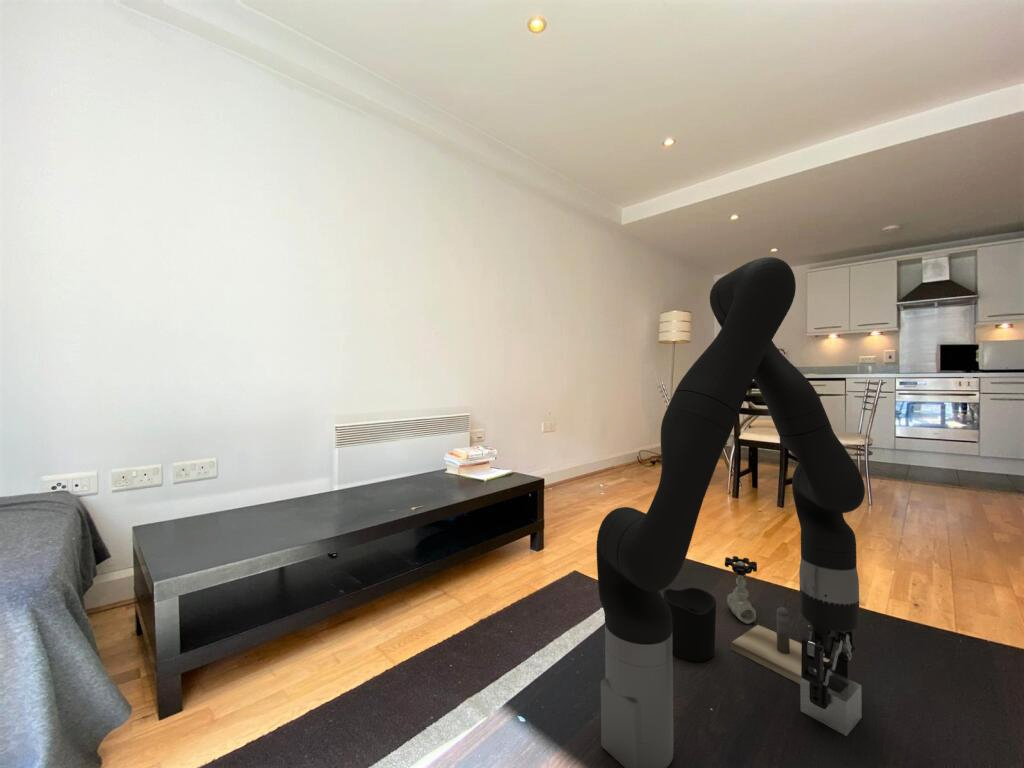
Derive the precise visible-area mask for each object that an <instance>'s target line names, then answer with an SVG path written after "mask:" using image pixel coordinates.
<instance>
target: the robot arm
mask: <svg viewBox="0 0 1024 768" xmlns="http://www.w3.org/2000/svg"><path fill="white" fill-rule="evenodd" d="M796 283H797V282H796V277H795V274H794V272H793V268H791V266H790V265H789V264H788V263H787V262H786V261H785V260H783V259H780V258H778V257H773V256H767V257H760V258H757V259H754V260H751V261H749V262H747V263H745V264H742V265H741V266H739V267H737V268H735V269H734V270H732V271H730V272H728V273H726V274H724V275H723V276H722V277H720V278H718V279H717V280H716V282H714V284H713V286H711V289H710V292H709V293H710V294H709V304H710V308H711V311H712V314H713V316H714V317H715V319H716V321H717V323H718V325H719V326H720V328H721V329H720V330H719V332H718V333H717V334H716V337H715V338H714V340H713V341H711V343H710V345H708V347H707V348H706V349H705V350H704V351H703V353H702V354H701V355H700V356H699V357H698V358H697V359H696V360H695V362H694V363H693V364H692V365H691V366H690V368H689V369H688V370H687V371H686V373H685V374H684V376H683V377H682V378H681V380H680V382H679V383H678V385H677V387H676V388H675V390H674V392H673V394H672V397H671V399H670V402H669V403H668V406H667V408H666V410H665V413H664V415H663V418H662V421H661V425H660V454H661V456H660V457H661V471H660V478H659V479H660V480H659V484H658V487H657V489H656V490H655V491H656V492H655V493H654V494H655V495H654V496H653V498H652V501H651V503H650V505H649V508H648V510H647V511H646V512H643V511H641V510H639V509H636V508H634V507H628V506H621V507H616V508H614V509H613V510H611V511H610V512H609V513H608V514H607V515H605V517H604V518H603V520H602V522H601V523H600V526H599V528H598V533H597V537H596V567H597V569H596V570H597V572H596V573H597V586H598V596H599V600H600V604H601V607H602V608H603V612H604V613H603V614H604V643H605V644H604V651H605V653H604V656H605V657H604V660H605V661H604V662H605V663H604V664H605V667H604V668H605V672H604V673H605V677H604V678H603V679H601V681H600V725H601V726H600V730H601V731H600V737H601V738H600V739H601V740H600V741H601V747H602V748H603V749H604V750H605V751H606V752H607V753H608V754H609V755H610V756H612V757H613V758H614V759H615V760H616V761H617V762H618V763H619V764H621V765H622V766H623V768H668V767H669V766H670V764H671V763H672V761H673V758H674V679H673V678H674V672H673V671H674V669H673V663H674V662H673V661H674V660H673V653H672V652H673V644H672V614H671V610H670V608H669V606H668V604H667V603H666V601H665V600H664V597H663V595H662V594H661V591H663V590H666V589H667V588H668V587H669V586H670V585H671V584H672V583H673V582H674V581H675V580H676V578H677V577H678V575H679V573H680V572H681V569H682V568H683V565H684V563H685V561H686V558H687V554H688V552H689V549H690V546H691V545H690V544H691V543H692V542H691V541H692V538H693V535H694V531H695V528H696V525H697V522H698V518H699V515H700V511H701V509H702V505H703V502H704V499H705V496H706V493H707V491H708V489H709V487H710V483H711V481H712V479H713V475H714V473H715V471H716V468H717V465H718V463H719V461H720V457H721V455H722V453H723V452H724V449H725V446H726V445H727V442H728V440H729V438H730V436H731V433H732V432H733V429H734V427H735V424H736V423H737V419H738V417H739V415H740V413H741V409H742V407H743V405H744V401H745V398H746V396H747V395H748V392H749V390H750V387H751V386H752V383H753V381H754V383H755V385H756V386H757V388H758V390H759V393H760V395H761V396H762V398H763V400H764V402H765V405H766V407H767V410H768V413H769V414H770V417H771V419H772V422H773V424H774V427H775V430H776V431H777V434H778V436H779V438H780V440H781V442H782V444H783V446H784V448H785V449H787V450H788V451H789V452H790V453H792V454H793V456H794V457H795V459H797V462H798V464H797V466H796V467H795V469H794V470H793V475H792V478H791V479H792V480H791V482H792V483H791V488H792V495H793V501H794V505H795V511H796V516H797V519H798V522H799V526H800V561H799V562H800V563H799V575H798V576H799V581H798V582H799V612H800V614H801V615H802V617H803V618H804V619H805V620H806V621H808V623H809V624H810V625H811V626H812V628H811V629H810V632H809V635H808V638H806V637H802V638H801V642H800V643H801V644H802V654H801V677H802V678H803V679H805V680H807V681H809V690H810V701H811V702H812V703H813V704H815V705H817V706H818V707H820V708H822V709H826V708H827V707H828V680H829V676H830V672H831V671H832V672H834V673H836V674H838V675H840V676H843V677H845V678H847V679H849V680H850V661H851V659H852V658H853V655H852V653H855V651H856V649H857V647H856V632H855V631H856V630H857V629H859V627H860V621H861V620H860V617H861V615H860V580H859V573H858V569H857V539H856V534H855V532H854V530H853V529H852V527H851V526H850V525H849V524H848V523H847V521H846V520H845V518H844V514H847V513H850V512H853V511H855V510H856V509H858V508H859V507H860V506H861V505H862V503H863V501H864V499H865V494H866V487H865V486H866V485H865V482H864V480H863V479H864V478H863V476H862V473H861V472H860V470H859V468H858V467H857V464H856V463H855V461H854V460H853V458H852V457H851V455H850V454H849V452H848V451H847V449H846V448H845V445H844V444H842V442H841V441H840V440H839V438H838V437H837V435H836V433H835V432H834V430H833V428H832V427H833V426H832V424H831V421H830V419H829V417H828V415H827V413H826V410H825V407H824V405H823V402H822V400H821V398H820V396H819V394H818V392H817V390H816V389H815V387H814V386H813V384H812V383H811V382H810V381H809V380H808V379H807V377H805V375H804V374H803V373H802V372H801V371H800V370H799V369H798V368H796V366H795V365H794V364H792V363H791V362H790V361H789V360H788V359H787V358H786V357H785V355H784V354H783V353H782V352H781V351H780V349H779V348H778V347H777V346H776V344H775V343H774V341H773V339H774V338H775V335H777V332H778V330H779V329H780V327H781V325H782V323H783V322H784V320H785V318H786V317H787V315H788V312H789V311H790V309H791V307H792V305H793V302H794V299H795V296H796V287H797V285H796ZM823 657H824V658H826V659H829V660H830V661H828V662H825V661H823ZM823 667H824V671H823ZM814 669H816V672H814Z"/></svg>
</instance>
